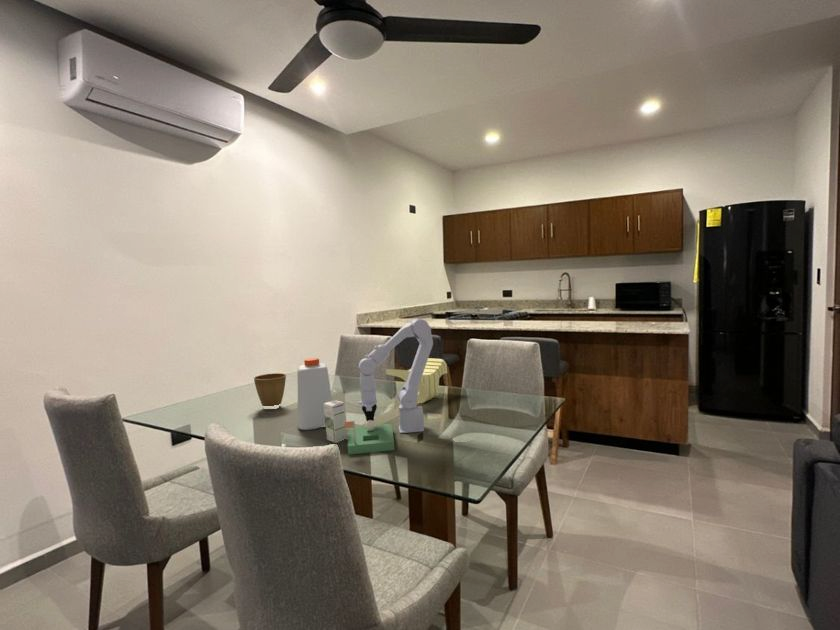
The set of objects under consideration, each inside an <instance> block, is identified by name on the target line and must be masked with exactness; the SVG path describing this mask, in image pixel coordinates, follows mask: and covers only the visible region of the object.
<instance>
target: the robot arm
mask: <svg viewBox="0 0 840 630" xmlns="http://www.w3.org/2000/svg"><path fill="white" fill-rule="evenodd" d="M414 336H415V338H416V340H417V342H418V343H419V345H418V348H417V350H416V354H415V356H414V359H413V362H412V366H411V367H410V369H411V370H410V369H409V370H410V373H409V376H408V379H407V381H406V382H405V383H404V384H403V386H402V388H401V389H400V390H399V391H398V393H397V399H398V402H400V404H399V406H398V413H399V416H398V418H399V425H398V431H399V433H400V434H407V433H408V434H409V433H417V432H424V431H425V421H424V409H423V407H422V405H421V406H419V405H418V403H417V395H418V392H419V390H418V386H419V383H420V380H421V377H422V375H423V372H424V369H425V366H426V363H427V360H428V358H429V357H430V354H431V351H432V349H433V346H434V339H433V335H432V328H431V326H430V325H429V323H428V322H427V321H426V320H425V319H421V318H419V317H414V318H412V319H410V321H409V322H407V323H406V324H404V325H403V326H402V327H401V328H400V329H398V331H397V332H396V333H394V335H393V336H391V337H390V339H388V340H387V341H386V342H385V343H384V344H378V345H375V346H374V349H373V350H372V351H371V352H370V353H369V354H366V355H364V358H362V359H361V360H360V361H359V363H358V369H359V371H360V373H359V377H360V378H359V383H360V398H361V400H359V401H358V405H362V406H361V410H362V413H364V416H365V420H366V422H367V421H368V420H373V421H374V422H375V414H376V410H377V408H378V407H377V403H378V400H377V390H376V378H375V371H376V367H379V366H380V365H381V364H382V363H383V362H384V361H385V360H386V359H388V357H390V355H391V351H392V350H393V349H394V348H395V347H396V346H397V345H399V344H400V343H401V342H402V341H403V340H405V339H407V338H412V337H414Z"/></svg>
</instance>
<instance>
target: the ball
mask: <svg viewBox="0 0 840 630" xmlns="http://www.w3.org/2000/svg"><path fill="white" fill-rule="evenodd" d="M376 425H377V424H376V422H375V420H374V421H373V420H368V421H366V422H365V424H364V426H365V428H366V429H367V430H368V431H372V430H374V429H375V427H376Z"/></svg>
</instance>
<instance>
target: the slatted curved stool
mask: <svg viewBox="0 0 840 630" xmlns="http://www.w3.org/2000/svg"><path fill="white" fill-rule="evenodd" d="M410 370H411V368H410V369H395V368H393V369H392V368H385V375H387V376H388V375H389V376H393V377H397V378H401V379H402V380H403V381H404V382H405V383H406V381H407V379H408V376H409V373H410ZM445 374H448V364H447V362H446V361H445V359H442V358H432V357H430V358H429V357H428V360H427V363H426V366H425V369H424V372H423V375H422V377H421V380H420V383H419V386H418V395H417V404H418V403H421V404H424V403H426V402H427V401H428V402H429V401H430V400H432V399H433V398H436V397H438V395H439V385H440V378H441V377H442V375H445Z"/></svg>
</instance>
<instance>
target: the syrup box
mask: <svg viewBox="0 0 840 630" xmlns="http://www.w3.org/2000/svg"><path fill="white" fill-rule="evenodd" d="M345 412H346V411H345V402H344V401H339V400H332V401H329V402H327V403H324V415H325V427H326V428H325V438H326V441H327V442H330V443H333V444H337V443H341V442H343V441H345V440H344V439H346V438H347V439H348V437H347V435H348V434H347V428H345V426H344V422H346V413H345ZM347 439H346V440H347ZM342 440H343V441H342ZM340 441H341V442H340Z"/></svg>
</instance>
